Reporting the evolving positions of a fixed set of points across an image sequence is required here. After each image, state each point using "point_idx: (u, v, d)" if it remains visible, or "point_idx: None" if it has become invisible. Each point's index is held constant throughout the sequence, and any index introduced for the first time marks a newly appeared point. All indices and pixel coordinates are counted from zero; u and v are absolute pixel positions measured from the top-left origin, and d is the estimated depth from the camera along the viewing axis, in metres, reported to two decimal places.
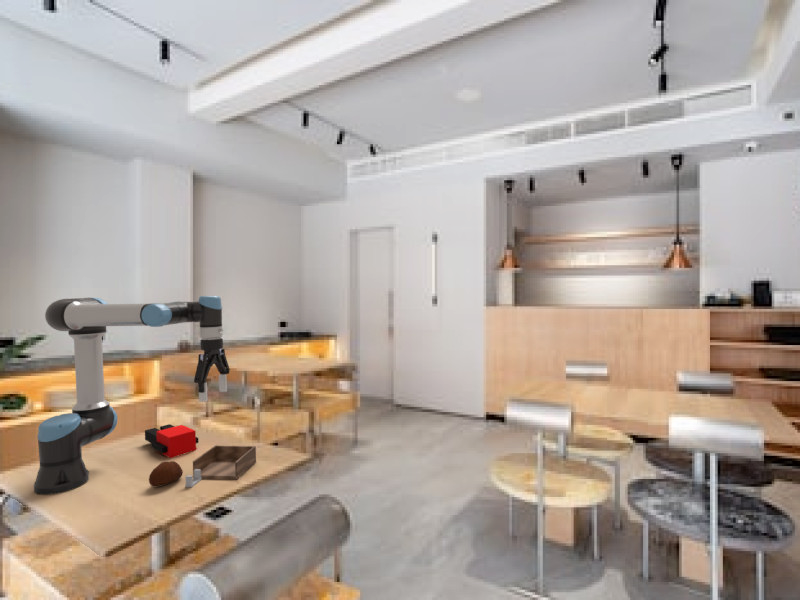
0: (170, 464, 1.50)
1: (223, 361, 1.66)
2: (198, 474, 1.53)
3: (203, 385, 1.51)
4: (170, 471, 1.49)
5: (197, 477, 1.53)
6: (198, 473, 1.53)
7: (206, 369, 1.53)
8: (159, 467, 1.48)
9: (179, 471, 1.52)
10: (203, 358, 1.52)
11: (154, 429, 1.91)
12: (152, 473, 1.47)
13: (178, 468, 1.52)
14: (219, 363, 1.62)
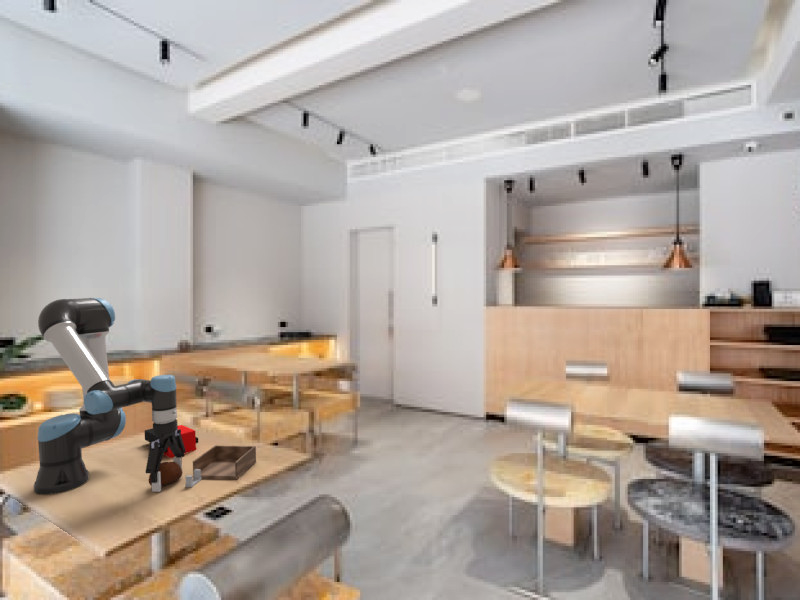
0: (170, 464, 1.50)
1: (179, 442, 1.57)
2: (198, 474, 1.53)
3: (156, 475, 1.44)
4: (170, 471, 1.49)
5: (197, 477, 1.53)
6: (198, 473, 1.53)
7: (159, 457, 1.46)
8: None
9: (179, 471, 1.52)
10: (154, 447, 1.44)
11: None
12: None
13: (178, 468, 1.52)
14: (173, 446, 1.54)
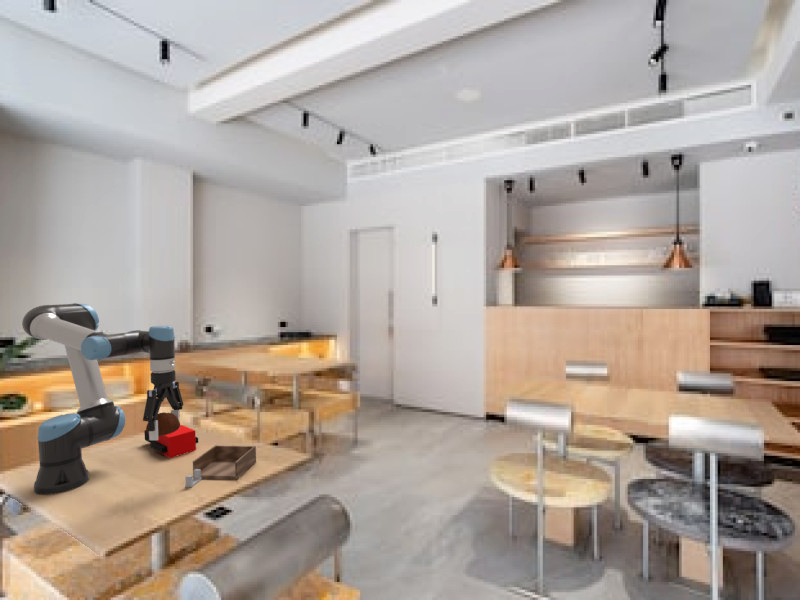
0: (167, 415, 1.50)
1: (176, 395, 1.57)
2: (198, 474, 1.53)
3: (153, 423, 1.44)
4: (168, 421, 1.48)
5: (197, 477, 1.53)
6: (198, 473, 1.53)
7: (156, 406, 1.45)
8: None
9: (176, 422, 1.51)
10: (151, 395, 1.43)
11: None
12: None
13: (175, 419, 1.51)
14: (171, 397, 1.53)
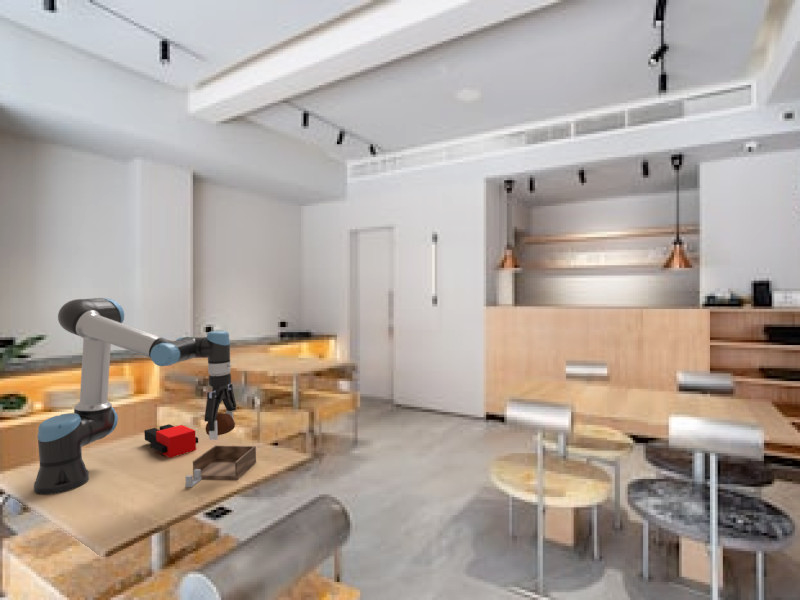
0: (224, 415, 1.58)
1: (230, 397, 1.65)
2: (198, 474, 1.53)
3: (213, 423, 1.52)
4: (225, 421, 1.56)
5: (197, 477, 1.53)
6: (198, 473, 1.53)
7: (215, 407, 1.54)
8: None
9: (232, 422, 1.60)
10: (211, 397, 1.52)
11: (154, 429, 1.91)
12: None
13: (231, 420, 1.60)
14: (227, 399, 1.61)
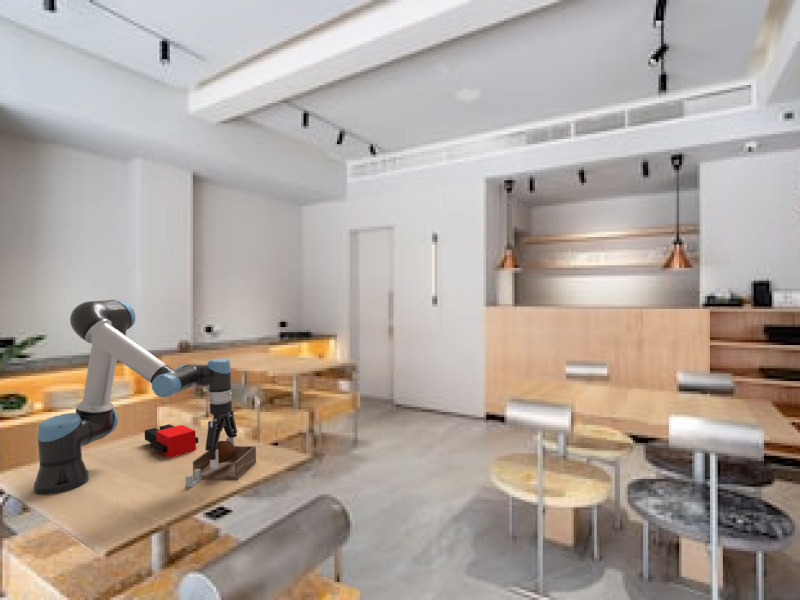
0: (225, 443, 1.58)
1: (231, 423, 1.65)
2: (198, 474, 1.53)
3: (214, 452, 1.52)
4: (226, 449, 1.57)
5: (197, 477, 1.53)
6: (198, 473, 1.53)
7: (216, 435, 1.54)
8: None
9: (233, 450, 1.60)
10: (212, 425, 1.52)
11: (154, 429, 1.91)
12: None
13: (232, 447, 1.60)
14: (227, 426, 1.62)
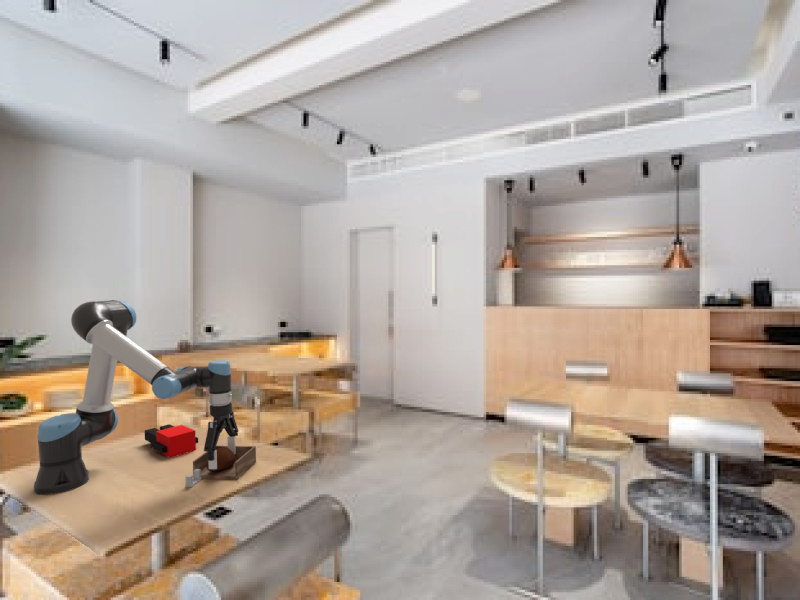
0: (225, 451, 1.58)
1: (232, 423, 1.66)
2: (198, 474, 1.53)
3: (213, 453, 1.51)
4: (226, 457, 1.57)
5: (197, 477, 1.53)
6: (198, 473, 1.53)
7: (216, 436, 1.54)
8: None
9: (233, 457, 1.60)
10: (212, 426, 1.52)
11: (154, 429, 1.91)
12: None
13: (232, 455, 1.60)
14: (228, 427, 1.62)
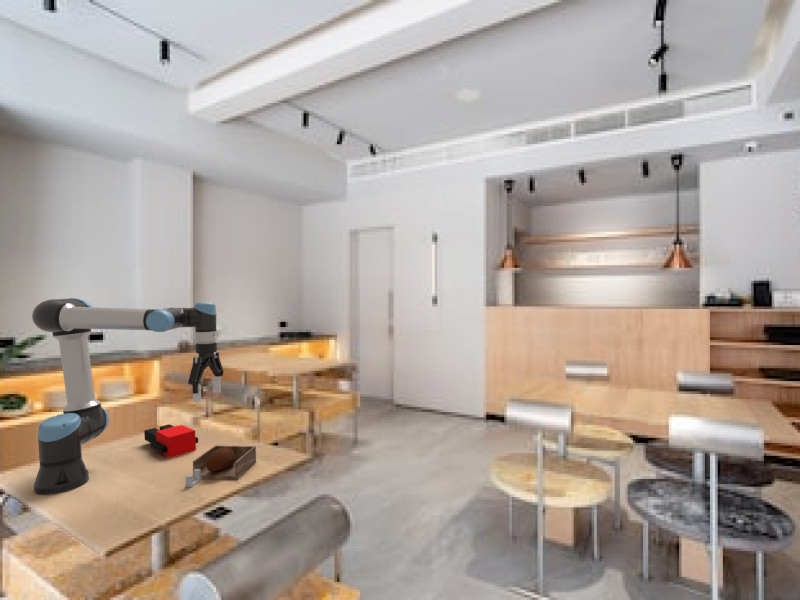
0: (225, 451, 1.58)
1: (217, 364, 1.75)
2: (198, 474, 1.53)
3: (197, 386, 1.61)
4: (226, 457, 1.57)
5: (197, 477, 1.53)
6: (198, 473, 1.53)
7: (200, 371, 1.63)
8: (215, 453, 1.56)
9: (233, 457, 1.60)
10: (197, 361, 1.61)
11: (154, 429, 1.91)
12: (209, 459, 1.55)
13: (232, 455, 1.60)
14: (213, 366, 1.72)
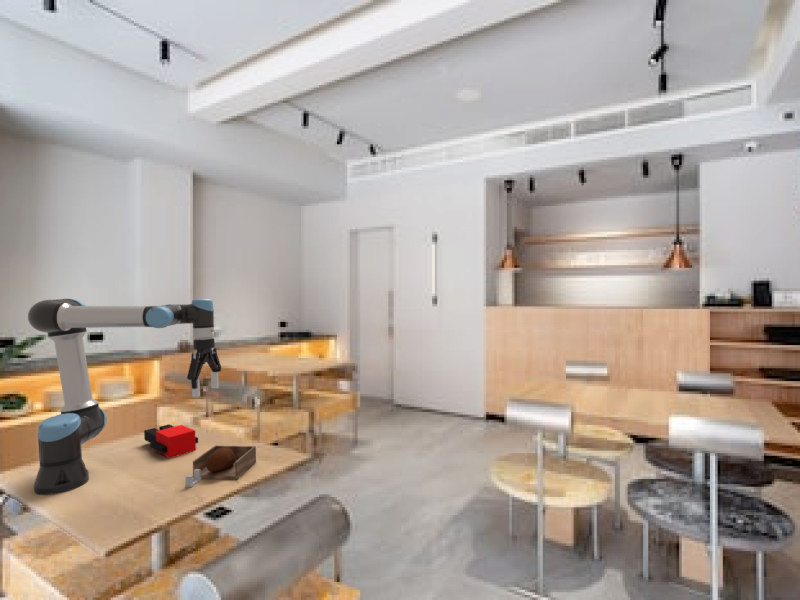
0: (225, 451, 1.58)
1: (215, 359, 1.77)
2: (198, 474, 1.53)
3: (196, 382, 1.63)
4: (226, 457, 1.57)
5: (197, 477, 1.53)
6: (198, 473, 1.53)
7: (198, 367, 1.65)
8: (215, 453, 1.56)
9: (233, 457, 1.60)
10: (195, 357, 1.63)
11: (153, 429, 1.91)
12: (209, 459, 1.55)
13: (232, 455, 1.60)
14: (211, 361, 1.74)
